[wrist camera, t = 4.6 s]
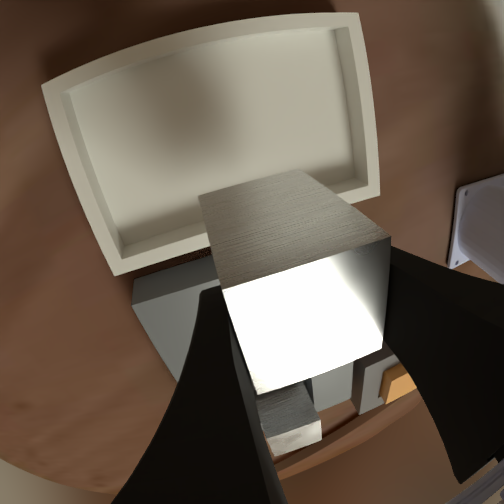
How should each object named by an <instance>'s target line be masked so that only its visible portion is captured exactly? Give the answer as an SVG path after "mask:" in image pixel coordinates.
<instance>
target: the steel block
mask: <svg viewBox="0 0 504 504" xmlns="http://www.w3.org/2000/svg"><path fill="white" fill-rule="evenodd" d="M198 199H199V203H200V207H201V211H202V215H203V219H204V223H205V227H206V231H207V235H208V239H209V243H210V247H211V251H212V255H213V259H214V262H215V266H216V270H217V274H218V277H219V281H220V285H221V289H222V292H223V295H224V298H225V301H226V304H227V307H228V310H229V313H230V316H231V319H232V322H233V325H234V328H235V331H236V334H237V337H238V340H239V343H240V346H241V349H242V352H243V355H244V357H245V360H246V363H247V366H248V369H249V372H250V375H251V377H252V380H253V383H254V386H255V389H256V391H257V394H258V395H259V394H263V393H266V392H269V391H272V390H275V389H278V388H281V387H284V386H287V385H290V384H293V383H296V382H299V381H302V380H304V379H307V378H310V377H313V376H315V375H318V374H321V373H323V372H326V371H329V370H331V369H334V368H336V367H339V366H341V365H344V364H346V363H349V362H351V361H353V360H356V359H358V358H361V357H363V356H365V355H368V354H370V353H372V352H374V351H377V350H379V349H381V347H382V340H383V332H384V324H385V315H386V306H387V296H388V284H389V270H390V252H391V236H390V235H389V234H388V233H387V232H385V231H384V230H383V229H382V228H380V227H379V226H378V225H376V224H375V223H374V222H372V221H371V220H370V219H369V218H367V217H366V216H365V215H363V214H362V213H361V212H359V211H358V210H357V209H355V208H354V207H353V206H351V205H350V204H349V203H347V202H346V201H344V200H343V199H342V198H340V197H339V196H338V195H336V194H335V193H333V192H332V191H331V190H329V189H328V188H326V187H325V186H324V185H322V184H321V183H319V182H318V181H316V180H315V179H314V178H312V177H311V176H309V175H308V174H306V173H305V172H303V171H302V170H300V169H296V170H291V171H287V172H283V173H279V174H275V175H271V176H267V177H264V178H260V179H256V180H252V181H248V182H245V183H241V184H237V185H233V186H230V187H226V188H223V189H219V190H216V191H212V192H209V193H205V194H202V195H198Z"/></svg>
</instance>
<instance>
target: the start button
mask: <svg viewBox="0 0 504 504" xmlns="http://www.w3.org/2000/svg"><path fill="white" fill-rule="evenodd" d="M415 388H417V387H416V385H415V384H414V382H413V380H412V378H411V377H410V375H409V374H408V372H407V371H406V369H405V368H404V366H403V365H402V364H401V363H399V364H398V365H396V366H394V367H392V368H390V369H388V370H385V371H383V374H382V380H381V385H380V390H379V394H380V396H381V397H382V399H383V401H384V402H385V404H387V403H389V402H391V401H393V400H395V399H397V398H399V397H401V396H403V395H405V394H406V393H408V392H410V391H412V390H414V389H415Z"/></svg>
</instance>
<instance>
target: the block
mask: <svg viewBox="0 0 504 504" xmlns="http://www.w3.org/2000/svg"><path fill="white" fill-rule="evenodd" d="M253 391H254V396H255V401H256V405H257V410H258V414H259V417H260V421H261V424H262V427H263V430H264V433H265V436H266V439H267V441H268V443H269V445H270V447H271V449H272V452H273V454H274V456H278V455H281V454H284V453H287V452H290V451H293V450H296V449H299V448H301V447H304V446H307V445H310V444H312V443H315V442H318V441H320V440H322V435H321V421H320V418H319V416H318V414H317V412H316V409H315V407H314V405H313V403H312V401H311V399H310V397H309V394H308V392H307V390H306V388H305V386H304V384H303V381H299V382H296V383H293V384H290V385H287V386H284V387H281V388H278V389H275V390H272V391H269V392H266V393H263V394H259V395H258V394H257V391H256V389H255V390H253Z"/></svg>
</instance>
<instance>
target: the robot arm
mask: <svg viewBox="0 0 504 504" xmlns="http://www.w3.org/2000/svg"><path fill="white" fill-rule="evenodd" d="M469 260H471V261H473V262H474V263H475V264H476V265H478V266H479V267H480V268H482V269H483V270H484V271H485V272H487V273H488V274H489V275H490V276H491V277H493V278H494V279H495V280H496V281H497V282H499V283H496V282H492V281H488V280H484V279H481V278H477V277H474V276H470V275H467V274H464V273H461V272H458V271H455V270H452V269H453V268H455V267H457V266H459V265H461V264H463V263H465V262H467V261H469ZM447 266H448V267H449V268H450V269H449V268H447V267H444V266H441V265H438V264H436V263H433V262H430V261H428V260H425V259H423V258H420V257H418V256H415V255H413V254H410V253H408V252H405V251H403V250H400V249H398V248H395V247H393V246H391V252H390V270H389V284H388V296H387V306H386V315H385V324H384V332H383V340H384V341H385V343H386V344H387V345H388V347H389V348H390V349H391V350H392V352H393V353H394V354H395V356H396V357H397V358H398V360H399V361H400V362H401V364H402V365H403V366H404V368H405V369H406V371H407V372H408V374H409V375H410V377H411V378H412V380H413V382H414V384H415V385H416V387H417V389H418V391H419V392H420V394H421V396H422V398H423V400H424V402H425V404H426V406H427V408H428V410H429V412H430V414H431V416H432V418H433V420H434V422H435V424H436V427H437V429H438V431H439V434H440V436H441V438H442V440H443V443H444V446H445V448H446V451H447V454H448V457H449V459H450V462H451V466H452V469H453V472H454V475H455V477H456V479H457V480H458V482H459V483H460V484H462V483H463V482H465V481H466V480H467V479H469V478H470V477H471V476H473V475H474V474H475V473H477V472H478V471H479V470H480V469H482V468H483V467H484V466H485V465H487V464H488V463H489V462H490V461H492V460H493V459H494V458H496V460H497V461H498V464H497V465H496V466H495V467H494V468H492V469H491V470H490V471H489V472H487V473H486V474H485V475H484V476H483V477H481V478H480V479H479V480H478V481H476V482H475V483H474V484H472V485H471V486H470V487H468V488H467V489H466V490H464V491H463V492H461V493H460V494H458V495H457V496H456V497H454V498H453V499H451V500H450V501H449V502H447V503H445V504H482V503H483V502H484V501H485V500H487V499H488V498H489V497H490V496H492V495H493V494H494V493H495V492H496V491H498V490H499V489H500V488H501V487H502V486H503V485H504V174H501V175H497V176H494V177H491V178H488V179H485V180H481V181H478V182H475V183H472V184H469V185H465V186H462V187H460V188H459V189H458V190H457V193H456V204H455V214H454V223H453V231H452V239H451V246H450V252H449V258H448V265H447ZM500 496H501V498H502V500H501V501H500V502H499V503H497V504H504V489H503V490H502V491H501V493H500ZM111 504H288V503H287V500H286V497H285V495H284V492H283V489H282V486H281V484H280V481H279V478H278V475H277V473H276V470H275V467H274V464H273V461H272V458H271V455H270V453H269V450H268V447H267V444H266V441H265V438H264V434H263V431H262V427H261V423H260V419H259V414H258V410H257V405H256V401H255V396H254V391H253V387H252V382H251V377H250V373H249V369H248V366H247V363H246V360H245V357H244V355H243V352H242V349H241V346H240V343H239V340H238V337H237V334H236V331H235V328H234V325H233V322H232V319H231V316H230V313H229V310H228V307H227V304H226V301H225V298H224V295H223V292H222V289H221V285H218V286H215V287H211V288H208V289H205V290H202V291H201V293H200V294H199V304H198V311H197V316H196V321H195V326H194V330H193V334H192V338H191V342H190V346H189V350H188V353H187V356H186V359H185V363H184V366H183V369H182V372H181V375H180V378H179V381H178V384H177V386H176V389H175V391H174V394H173V396H172V399H171V401H170V404H169V406H168V408H167V410H166V412H165V415H164V417H163V419H162V421H161V423H160V425H159V427H158V429H157V431H156V433H155V435H154V437H153V439H152V441H151V443H150V444H149V446H148V448H147V449H146V451H145V453H144V455H143V456H142V458H141V460H140V461H139V463H138V465H137V466H136V468H135V470H134V471H133V473H132V474H131V476H130V478H129V479H128V481H127V482H126V483H125V485H124V486H123V488H122V489H121V490H120V492H119V493H118V494H117V496H116V497H115V498H114V500H113V501H112V503H111Z"/></svg>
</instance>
